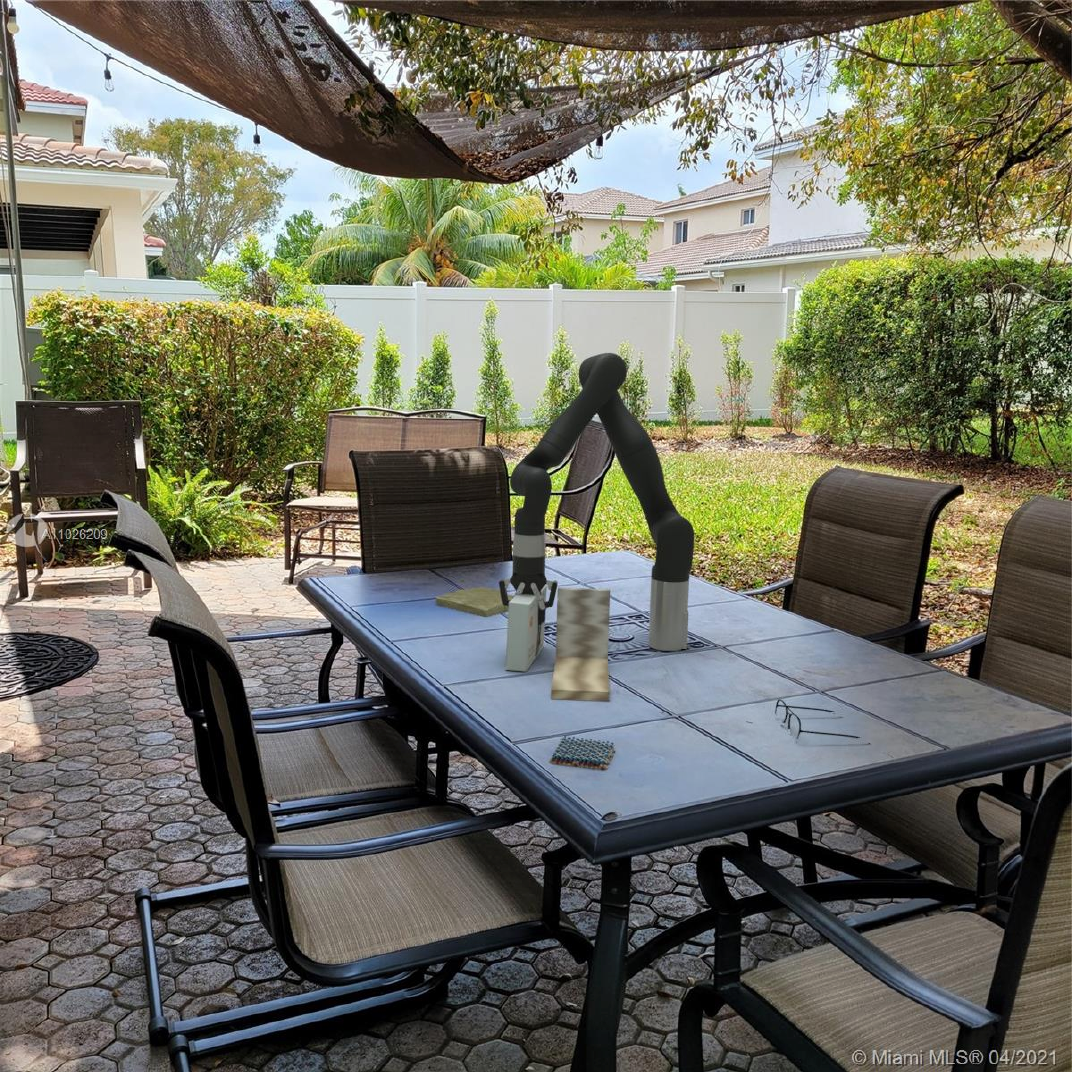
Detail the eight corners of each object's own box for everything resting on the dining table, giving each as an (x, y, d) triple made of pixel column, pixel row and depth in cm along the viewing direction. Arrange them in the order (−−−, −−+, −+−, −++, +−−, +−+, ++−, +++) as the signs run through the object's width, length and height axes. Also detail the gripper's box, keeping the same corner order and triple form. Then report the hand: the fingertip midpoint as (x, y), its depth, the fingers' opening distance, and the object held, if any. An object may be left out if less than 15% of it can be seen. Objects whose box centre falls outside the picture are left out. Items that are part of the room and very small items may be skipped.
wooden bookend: (607, 665, 229) (610, 589, 226) (609, 701, 205) (612, 616, 202) (555, 662, 230) (557, 587, 227) (551, 698, 205) (553, 614, 202)
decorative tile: (486, 619, 269) (486, 606, 269) (434, 606, 282) (434, 594, 281) (530, 607, 284) (530, 595, 283) (479, 595, 296) (479, 584, 296)
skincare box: (528, 672, 222) (529, 603, 219) (504, 671, 223) (505, 602, 220) (546, 647, 242) (547, 583, 240) (524, 645, 243) (525, 582, 241)
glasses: (772, 719, 198) (777, 696, 197) (843, 727, 199) (848, 704, 198) (796, 747, 184) (800, 721, 183) (872, 755, 185) (877, 730, 184)
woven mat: (617, 751, 180) (617, 740, 179) (606, 773, 170) (607, 762, 169) (561, 744, 182) (561, 733, 182) (547, 766, 172) (547, 755, 172)
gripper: (560, 550, 232) (558, 620, 235) (499, 548, 232) (498, 618, 235) (559, 556, 224) (557, 629, 227) (496, 554, 225) (495, 626, 228)
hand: (527, 623), depth 231 cm, fingers closed on skincare box, 5 cm apart
